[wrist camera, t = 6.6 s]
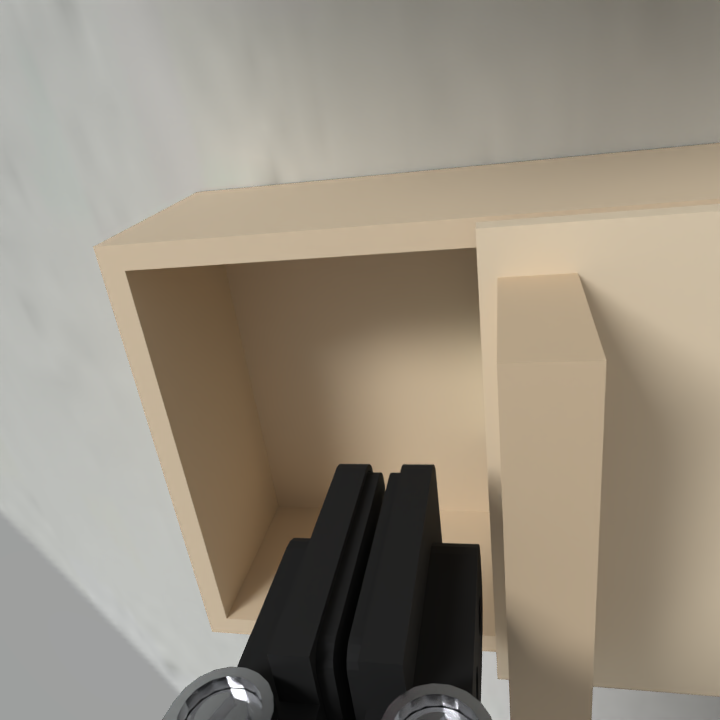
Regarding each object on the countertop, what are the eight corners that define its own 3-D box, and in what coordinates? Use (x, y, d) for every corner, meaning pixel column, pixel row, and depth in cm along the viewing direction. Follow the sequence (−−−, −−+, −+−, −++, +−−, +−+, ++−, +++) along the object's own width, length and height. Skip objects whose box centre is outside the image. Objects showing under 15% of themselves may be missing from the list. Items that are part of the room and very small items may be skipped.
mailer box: (834, 131, 13) (989, 177, 9) (764, 523, 17) (847, 676, 13) (197, 192, 16) (93, 246, 12) (270, 511, 20) (212, 631, 16)
